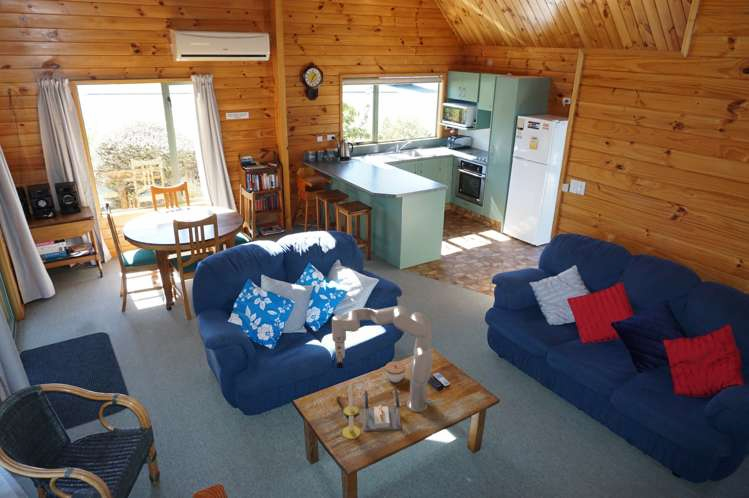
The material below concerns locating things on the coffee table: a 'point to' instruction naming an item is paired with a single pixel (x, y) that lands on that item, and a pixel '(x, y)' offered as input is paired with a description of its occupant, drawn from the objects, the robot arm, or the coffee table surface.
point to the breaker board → (372, 425)
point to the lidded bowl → (395, 371)
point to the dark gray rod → (397, 399)
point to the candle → (351, 418)
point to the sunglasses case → (345, 404)
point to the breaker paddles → (380, 412)
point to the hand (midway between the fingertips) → (340, 362)
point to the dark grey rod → (366, 400)
